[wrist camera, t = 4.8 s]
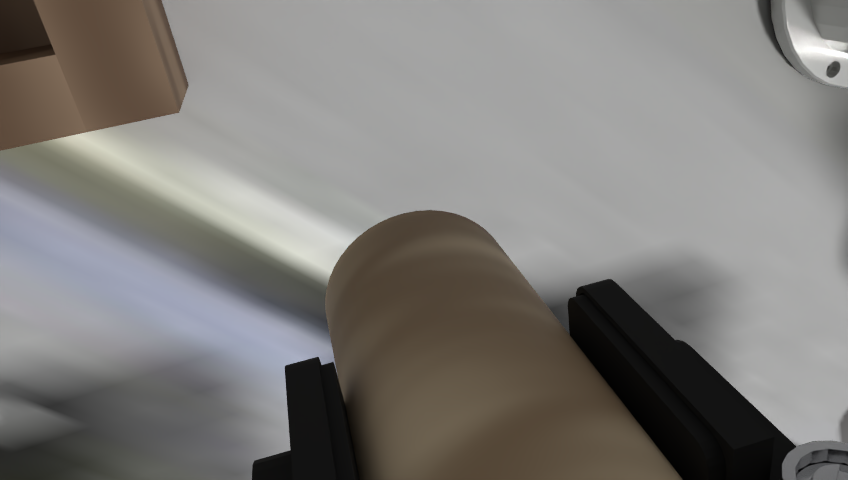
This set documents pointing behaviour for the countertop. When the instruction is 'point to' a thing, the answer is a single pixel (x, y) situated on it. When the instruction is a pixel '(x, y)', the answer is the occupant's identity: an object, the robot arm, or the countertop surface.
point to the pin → (468, 366)
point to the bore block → (84, 67)
